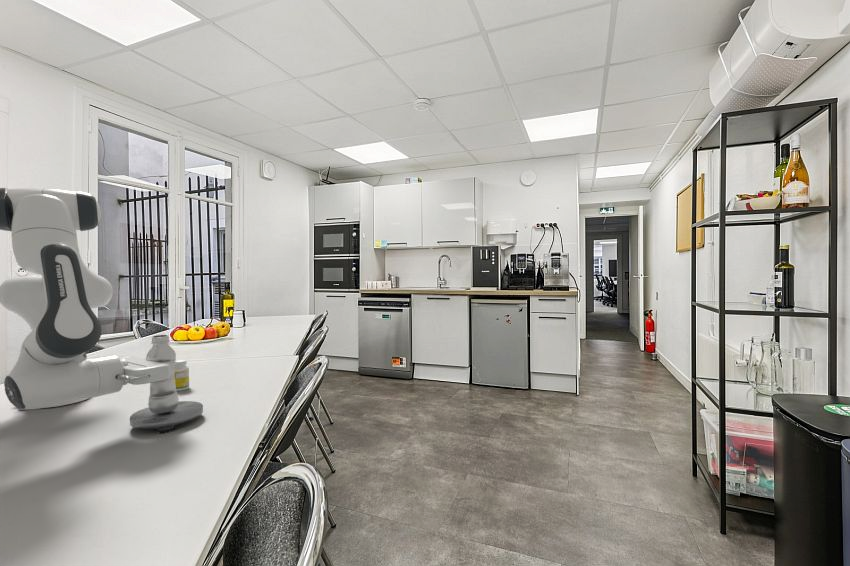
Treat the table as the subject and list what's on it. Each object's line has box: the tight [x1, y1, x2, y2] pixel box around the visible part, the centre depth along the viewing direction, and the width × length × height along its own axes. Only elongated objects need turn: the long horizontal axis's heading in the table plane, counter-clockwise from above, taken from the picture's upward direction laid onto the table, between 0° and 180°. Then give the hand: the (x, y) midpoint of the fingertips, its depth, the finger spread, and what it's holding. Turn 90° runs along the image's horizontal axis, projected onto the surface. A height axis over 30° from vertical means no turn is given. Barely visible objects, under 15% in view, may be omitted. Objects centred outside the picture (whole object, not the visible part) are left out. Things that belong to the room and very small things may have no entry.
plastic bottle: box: [145, 334, 179, 414], centre depth 101 cm, size 6×7×20 cm
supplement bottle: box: [174, 359, 190, 392], centre depth 132 cm, size 5×5×10 cm
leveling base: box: [129, 400, 204, 434], centre depth 102 cm, size 16×16×3 cm
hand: (170, 363), depth 103 cm, fingers open, 8 cm apart
